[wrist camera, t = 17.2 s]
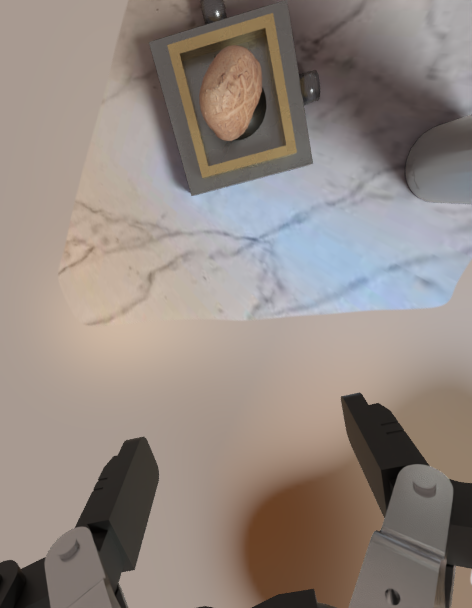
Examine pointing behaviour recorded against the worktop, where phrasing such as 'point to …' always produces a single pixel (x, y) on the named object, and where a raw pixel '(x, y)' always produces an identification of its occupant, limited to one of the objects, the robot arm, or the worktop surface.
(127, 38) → the worktop surface
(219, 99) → the mushroom
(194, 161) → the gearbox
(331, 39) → the worktop surface
